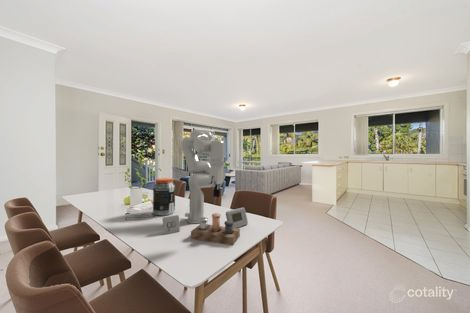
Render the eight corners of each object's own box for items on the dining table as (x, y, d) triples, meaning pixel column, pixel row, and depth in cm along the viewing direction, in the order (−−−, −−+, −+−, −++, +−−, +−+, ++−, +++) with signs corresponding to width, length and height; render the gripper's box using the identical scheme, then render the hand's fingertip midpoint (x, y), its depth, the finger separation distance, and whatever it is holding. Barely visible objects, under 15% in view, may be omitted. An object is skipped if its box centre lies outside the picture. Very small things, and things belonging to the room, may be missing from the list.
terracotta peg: (210, 232, 105) (210, 215, 105) (213, 228, 110) (213, 212, 110) (218, 233, 104) (218, 216, 104) (221, 229, 108) (221, 213, 108)
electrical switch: (163, 235, 109) (163, 218, 109) (161, 232, 113) (161, 216, 114) (180, 231, 114) (179, 215, 114) (177, 229, 118) (177, 214, 119)
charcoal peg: (222, 240, 103) (223, 223, 103) (226, 236, 108) (226, 220, 107) (231, 241, 102) (231, 224, 101) (234, 237, 106) (234, 221, 106)
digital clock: (229, 231, 116) (229, 213, 115) (222, 226, 123) (222, 209, 123) (251, 226, 124) (251, 209, 124) (243, 221, 132) (243, 206, 132)
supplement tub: (179, 212, 149) (179, 179, 148) (159, 217, 137) (159, 181, 136) (168, 208, 159) (168, 177, 159) (149, 213, 147) (149, 179, 147)
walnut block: (190, 238, 105) (191, 231, 105) (201, 230, 116) (201, 223, 116) (233, 245, 97) (233, 237, 97) (239, 236, 109) (239, 228, 109)
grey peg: (197, 236, 108) (197, 219, 107) (201, 232, 112) (201, 217, 112) (205, 237, 106) (205, 221, 106) (209, 233, 111) (209, 218, 110)
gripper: (216, 162, 114) (215, 193, 115) (204, 163, 100) (204, 198, 100) (228, 162, 112) (227, 194, 112) (218, 164, 98) (217, 200, 98)
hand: (216, 196), depth 106 cm, fingers closed
